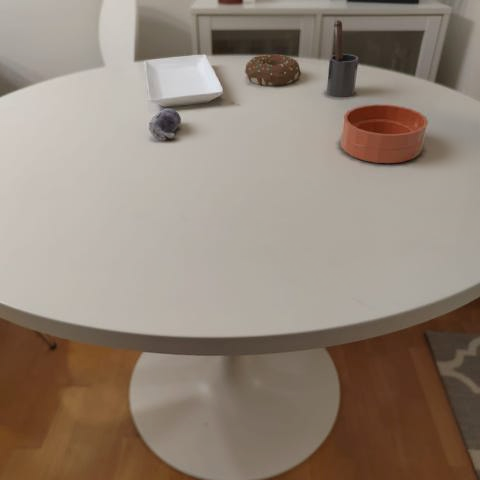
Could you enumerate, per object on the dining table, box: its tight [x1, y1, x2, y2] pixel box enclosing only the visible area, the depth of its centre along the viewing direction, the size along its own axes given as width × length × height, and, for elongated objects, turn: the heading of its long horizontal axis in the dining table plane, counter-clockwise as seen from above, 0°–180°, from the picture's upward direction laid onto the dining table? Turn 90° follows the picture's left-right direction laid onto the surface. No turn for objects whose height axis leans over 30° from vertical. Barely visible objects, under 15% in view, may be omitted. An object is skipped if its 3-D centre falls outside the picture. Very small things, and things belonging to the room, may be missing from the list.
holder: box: [326, 53, 359, 98], centre depth 103 cm, size 6×6×8 cm
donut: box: [244, 53, 302, 87], centre depth 113 cm, size 14×14×5 cm
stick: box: [333, 20, 344, 61], centre depth 99 cm, size 2×2×16 cm
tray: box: [143, 54, 224, 108], centre depth 112 cm, size 17×31×4 cm, turn 11°
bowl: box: [340, 104, 429, 164], centre depth 82 cm, size 14×14×6 cm
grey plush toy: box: [148, 107, 182, 142], centre depth 91 cm, size 5×5×10 cm
